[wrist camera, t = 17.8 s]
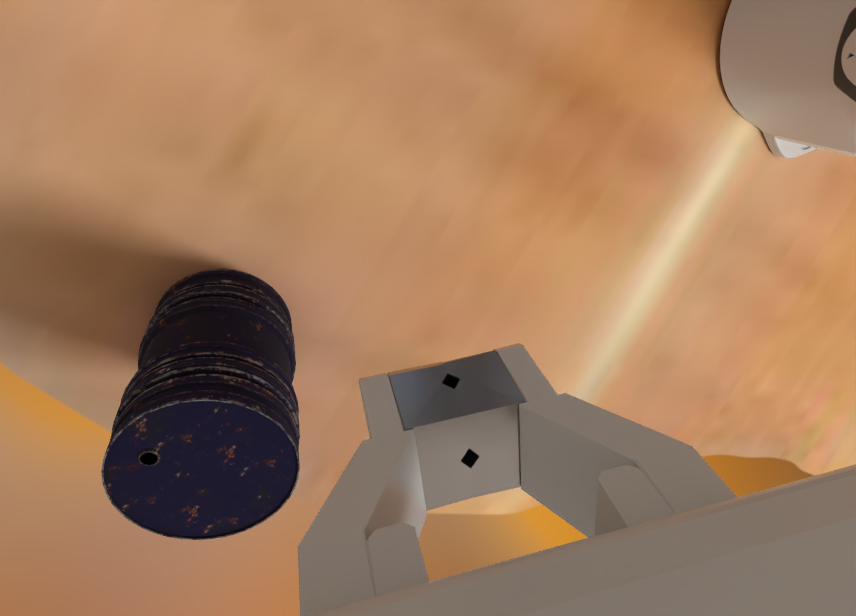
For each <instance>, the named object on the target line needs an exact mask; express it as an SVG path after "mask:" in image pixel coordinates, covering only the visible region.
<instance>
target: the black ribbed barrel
mask: <svg viewBox="0 0 856 616" xmlns="http://www.w3.org/2000/svg"><path fill="white" fill-rule="evenodd" d="M138 357H139V359H138V371H137V373H136V374H135V375H134V377H133V378H132V379H131V381H130V383H129V384H128V386H127V387H126V389H125V391H124V394H123V396H122V399H121V404H120V407H119V409H118V412H117V415H116V417H115V420H114V423H113V428H112V434H111V439H110V443H109V445H108V447H107V450H106V453H105V456H104V459H103V465H102V482H103V486H104V488H105V492H106V494H107V496H108V498H109V499H110V501H111V503H112V504H113V505H114V507H115V508H116V509H117V510H118V511H119V512H120V513H121V514H122V515H123V516H124V517H126V518H127V519H128V520H129V521H131V522H133V523H134V524H136V525H138V526H140V527H141V528H143V529H146V530H148V531H151V532H153V533H156V534H160V535H163V536H167V537H173V538H179V539H192V540H201V539H214V538H221V537H226V536H230V535H234V534H237V533H240V532H243V531H246V530H248V529H251V528H253V527H254V526H257V525H258V524H260V523H262V522H264V521H265V520H267V519H268V518H270V517H271V516H273V515H274V514H275V513H276V512H277V511H278V510H279V509H280V508H281V507H282V506H283V505H284V504H285V503H286V501H287V500H288V499H289V498H290V496H291V494H292V492H293V491H294V489H295V486H296V483H297V480H298V476H299V468H300V467H299V452H298V446H299V437H300V431H299V418H298V415H299V409H298V401H297V398H296V394H295V392H294V389H293V386H292V381H293V378H294V373H295V365H296V361H295V346H294V336H293V333H292V324H291V317H290V313H289V310H288V308H287V306H286V304H285V302H284V301H283V299H282V298H281V296H280V295H279V294H278V293H277V292H276V291H275V290H274V289H273V288H272V287H271V286H270V285H268V284H267V283H265V282H264V281H262V280H260V279H259V278H257V277H255V276H252V275H250V274H247V273H244V272H239V271H235V270H225V269H217V270H207V271H202V272H198V273H195V274H192V275H189V276H187V277H185V278H184V279H182V280H180V281H178V282H177V283H176V284H174V285H173V286H172V287H170V289H169V290H168V291H167V292H166V293H165V294H164V295H163V297H162V298H161V300H160V301H159V303H158V306H157V308H156V311H155V314H154V316H153V317H152V319H151V320H150V323H149V325H148V328H147V330H146V333H145V335H144V337H143V340H142V342H141V345H140V349H139V355H138Z"/></svg>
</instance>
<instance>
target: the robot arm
mask: <svg viewBox="0 0 856 616" xmlns="http://www.w3.org/2000/svg"><path fill="white" fill-rule="evenodd" d="M720 68H721V76H722V81H723V85H724V88H725V91H726V94H727V96H728V98H729V100H730V102H731V104H732V105H733V107H734V108H735V109H736V110H737V112H738V113H739V114H740V115H741V116H742V117H744V118H745V119H746V120H748V121H749V122H750V123H752V124H753V125H755V126H756V127H758V128H759V129H760V130H761V131H762V132H763V134H764V137H765V139H766V142H767V144H768V146H769V148H770V150H771V151H772V153H773V154H774V155H776V156H778V157H782V158H788V159H790V158H794V157H797V156H800V155H802V154H805V153H807V152H810V151H813V150H815V149H818V148H819V149H824V150H828V151H833V152H837V153H842V154H846V155H851V156H855V157H856V0H732V1H731V4H730V7H729V10H728V13H727V16H726V19H725V23H724V27H723V32H722V38H721V46H720ZM387 374H388V375H387ZM387 374H386V373H383V374H379V375H374V376H370V377H365V378H360V379H359V386H360V391H361V396H362V401H363V406H364V411H365V416H366V421H367V426H368V431H369V436H370V439H368V440H364V441H362V443H361V444H360V446H359V448H358V449H357V451H356V453H355V454H354V456H353V457H352V459H351V461H350V462H349V464H348V466H347V467H346V469H345V470H344V472H343V474H342V475H341V477H340V479H339V480H338V482H337V484H336V485H335V487H334V488H333V490H332V492H331V493H330V495H329V497H328V498H327V500H326V501H325V503H324V505H323V506H322V508H321V510H320V512H319V513H318V515H317V516H316V518H315V519H314V521H313V523H312V525H311V526H310V528H309V529H308V531H307V532H306V534H305V536H304V537H303V539H302V541H301V542H300V544H299V546H298V566H299V594H300V616H856V465H852V466H849V467H845V468H841V469H838V470H834V471H831V472H827V473H823V474H820V475H816V476H812V477H809V478H805V479H802V480H798V481H795V482H791V483H787V484H784V485H780V486H777V487H773V488H769V489H766V490H762V491H758V492H755V493H751V494H747V495H744V496H740V497H737V496H736V495H735V494H734V493H733V492H732V491H731V490H730V488H729V487H728V486H727V485H726V484H725V483H724V482H723V480H722V479H721V478H720V477H719V476H718V475H717V474H716V473H715V471H713V469H712V468H711V467H710V466H709V465H708V464H707V463H706V461H705V460H704V459H703V458H702V457H701V456H700V455H699V454H698V452H697V451H696V450H695V449H694V448H693V447H692V446H690V445H688V444H685V443H683V442H681V441H678V440H676V439H673V438H671V437H669V436H666V435H664V434H661V433H659V432H657V431H654V430H652V429H650V428H647V427H645V426H642V425H640V424H638V423H635V422H633V421H631V420H628V419H626V418H623V417H621V416H619V415H616V414H614V413H611V412H609V411H607V410H604V409H602V408H600V407H597V406H595V405H592V404H590V403H588V402H585V401H583V400H580V399H578V398H576V397H573V396H571V395H569V394H566V393H564V394H560V395H558V394H557V393H556V391H555V390H554V389H553V387H552V386H551V384H550V383H549V381H548V380H547V379H546V377H545V376H544V374H543V373H542V371H541V370H540V368H539V367H538V366H537V364H536V363H535V361H534V360H533V358H532V357H531V356H530V354H529V353H528V351H527V350H526V348H525V347H524V345H522V344H519V343H518V344H514V345H510V346H506V347H502V348H498V349H494V350H493V351H490V352H485V353H481V354H476V355H472V356H468V357H463V358H459V359H455V360H450V361H446V362H439V363H434V364H428V365H423V366H418V367H413V368H408V369H403V370H398V371H393V372H388V373H387ZM517 487H521V489H522V490H523V491H525V492H526V493H528V494H529V495H530V496H532V497H533V498H535V499H536V500H537V501H539V502H540V503H541V504H543V505H544V506H546V507H547V508H548V509H550V510H551V511H553V512H554V513H555V514H557V515H558V516H559V517H561V518H562V519H564V520H565V521H566V522H568V523H569V524H570V525H572V526H573V527H575V528H576V529H577V530H579V531H580V532H582V533H583V534H584V535H586V536H587V537H588V538H586V539H582V540H579V541H576V542H572V543H568V544H565V545H561V546H557V547H554V548H550V549H546V550H543V551H539V552H535V553H532V554H528V555H524V556H521V557H517V558H513V559H510V560H506V561H502V562H499V563H495V564H492V565H488V566H484V567H481V568H477V569H473V570H470V571H466V572H462V573H459V574H456V575H452V576H448V577H444V578H441V579H438V580H433V581H430V582H429V578H428V575H427V571H426V567H425V563H424V560H423V556H422V553H421V549H420V545H419V541H418V538H419V536H420V533H421V530H422V527H423V524H424V521H425V518H426V515H427V511H428V510H431V509H435V508H438V507H442V506H445V505H449V504H452V503H456V502H459V501H463V500H466V499H470V498H473V497H478V496H482V495H486V494H491V493H495V492H500V491H504V490H508V489H513V488H517Z"/></svg>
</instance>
